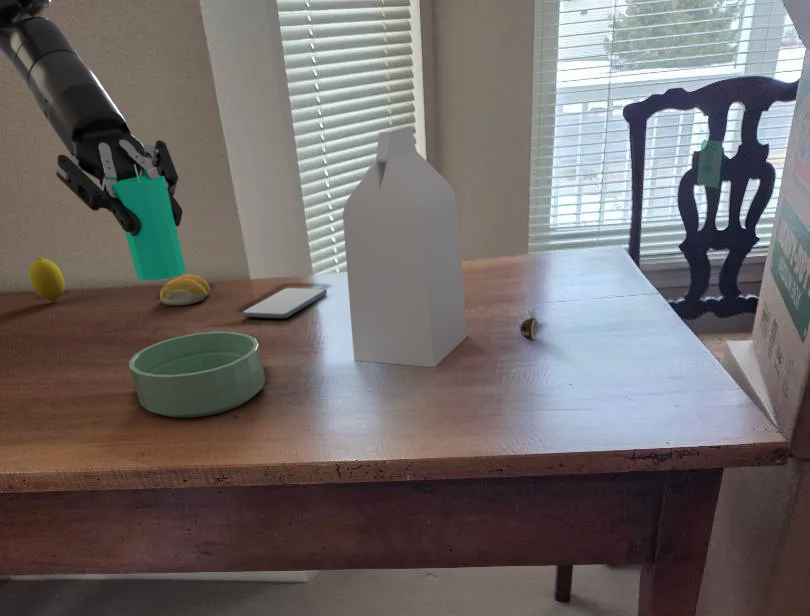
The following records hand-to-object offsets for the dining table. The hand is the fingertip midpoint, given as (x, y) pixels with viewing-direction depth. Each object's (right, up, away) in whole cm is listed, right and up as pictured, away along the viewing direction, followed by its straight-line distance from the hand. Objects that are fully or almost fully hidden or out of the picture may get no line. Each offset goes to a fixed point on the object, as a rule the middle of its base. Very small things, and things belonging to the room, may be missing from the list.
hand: (157, 225), depth 85 cm
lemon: (-36, +7, +50) cm, 62 cm away
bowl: (+4, -19, +5) cm, 20 cm away
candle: (-1, -4, +4) cm, 6 cm away
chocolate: (+46, -10, +13) cm, 48 cm away
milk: (+30, -11, +14) cm, 35 cm away
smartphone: (+9, +2, +35) cm, 37 cm away
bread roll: (-10, +6, +44) cm, 45 cm away
